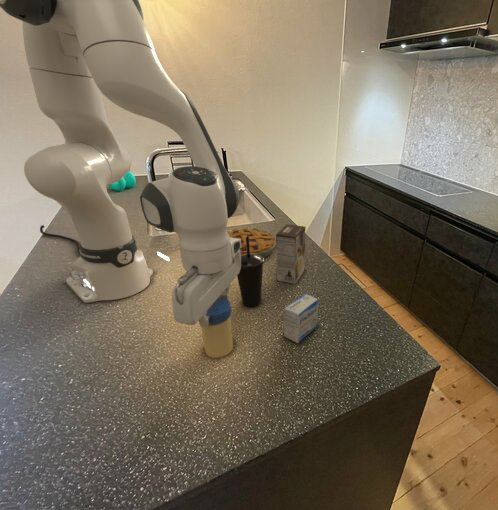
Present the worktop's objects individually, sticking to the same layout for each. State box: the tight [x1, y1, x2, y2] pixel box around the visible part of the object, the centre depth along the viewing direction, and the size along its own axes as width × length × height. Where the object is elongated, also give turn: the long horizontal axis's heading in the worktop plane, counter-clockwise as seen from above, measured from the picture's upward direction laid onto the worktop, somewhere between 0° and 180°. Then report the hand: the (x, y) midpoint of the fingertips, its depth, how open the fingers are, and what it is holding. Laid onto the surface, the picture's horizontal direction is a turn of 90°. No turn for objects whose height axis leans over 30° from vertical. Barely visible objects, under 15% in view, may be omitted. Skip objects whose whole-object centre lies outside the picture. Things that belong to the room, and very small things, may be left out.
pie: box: [227, 227, 276, 259], centre depth 111 cm, size 22×22×5 cm
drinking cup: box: [236, 237, 265, 309], centre depth 80 cm, size 8×8×20 cm
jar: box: [200, 316, 234, 359], centre depth 67 cm, size 6×6×11 cm
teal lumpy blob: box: [107, 170, 137, 192], centre depth 161 cm, size 10×10×10 cm
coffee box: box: [275, 223, 306, 284], centre depth 96 cm, size 9×6×16 cm
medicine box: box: [283, 293, 319, 344], centre depth 74 cm, size 8×4×9 cm, turn 148°
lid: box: [206, 297, 233, 324], centre depth 64 cm, size 6×6×2 cm
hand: (215, 312), depth 65 cm, fingers closed on lid, 6 cm apart
